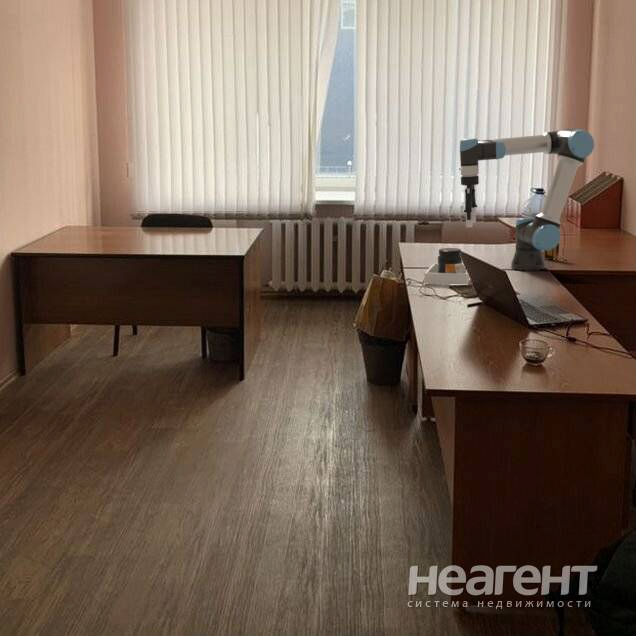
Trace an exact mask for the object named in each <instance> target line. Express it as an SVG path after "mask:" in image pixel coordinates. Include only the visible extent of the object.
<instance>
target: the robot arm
mask: <svg viewBox="0 0 636 636" xmlns="http://www.w3.org/2000/svg"><path fill="white" fill-rule="evenodd" d="M594 140H595V139H594V138H593V136H592V134H591V133H590V132H588V131H587V130H584V129H580V128H577V129H574V128H564V129H563V128H562V129H559V130H554V131H546V132H544V133H542V134H539V135H538V134H536V135H526V136H517V137H516V136H515V137H507V138H506V137H505V138H494V139H483V140H479V139H478V138H475V137H474V138H471V137H470V138H462V139H461V140H460V141H459V161H460V168H458V170H459V171H460V175H461V176H460V185H461V186H466V188H465V189H464V198H465V201H464V204H465V205H464V206H465V207H464V210H463V213H465V227H466V228H473V226H474V225H473V224H475V223H477V216H476V214H477V212H476V211H477V210H476V209H477V208H478V204H477V202H476V201H477V200H476V188H475V187H476V186H477V185H479V184H480V180H479V179H480V178H479V177H480V176H479V171H480V169H479V161H489V160H491V161H492V160H500V159H501V160H502V159H504V157H506V156H513V155H515V156H516V155H527V154H537V153H543V154H545V155H550V154H551V155H556V156H557V158H558V163H557V166H556V167H555V171H554V174H553V177H552V180H551V182H550V185H549V188H548V191H547V193H546V195H545V199H544V202H543V204H542V207H541V210H540V213H537V214H536V215H535V216H534V217H526V218H525V217H524V218H517V219H516V221H515V251H514V254H513V258H512V260H511V264H510V265H511V268H510V269H512V268H513V269H512V270H515V269H517V270H516V271H522V270H525V272H527V271H528V272H532V271H533V272H534V271H535V270H536V271H541V270H540V269H543V268H545V269H546V262H545V261H546V260H545V259H544V258H543V250H544V251H547V250H551V249H553V248H555V247H556V246H557V245H558V243H559V244H560V241H561V238H562V236H561V231H560V229H561V227H562V225H561V223H562V222H561V221H560V219H561V216H562V215H561V214H562V212H563V210H564V207H565V205H566V201H567V199H568V195H569V193H570V190H571V188H572V184H573V182H574V179H575V177H576V173H577V171H578V169H579V167H580V166H583V165H584V163H585V160H586V158H587V157H589V156H590V155H592V152H593V150H594V149H595V141H594ZM560 222H561V223H560ZM543 270H544V269H543Z"/></svg>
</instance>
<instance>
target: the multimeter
mask: <svg viewBox="0 0 636 636" xmlns="http://www.w3.org/2000/svg"><path fill="white" fill-rule="evenodd" d="M560 223H561V227H562V231H563V233H565V231H564V230H565V229H564V226H563V223H562V222H561V221H560ZM563 238H564V240H563V245H565V240H566V238H565V235H563ZM559 251H560V242H559V243H558V245H557V246H556V247H555V248H553V249H551V250H547V251H544V250H542V254H543V258H544V260H548V259H555V261H557V260H556V259H558V260H559V259H560V258H559V257H560V256H559V255H560V254H559V253H560V252H559ZM562 251H563V252H562V255H564V254H565V253H564V251H565V248H563V250H562ZM562 260H563V261H564V260H565V259H564V258H562Z"/></svg>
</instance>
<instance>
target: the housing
mask: <svg viewBox="0 0 636 636" xmlns="http://www.w3.org/2000/svg"><path fill="white" fill-rule="evenodd" d="M423 276H424V277H423V278H424V283H428V284H444V285H443V286H450V285H449V284H468V283H469V284H470V282H469V276H468V273H467V272H466V270H465V267H464V265H463V263H462V274H460V273H438V263H433V264H431V266H429V268H427V270H426V271H425V272H424V275H423ZM469 284H468V285H469Z"/></svg>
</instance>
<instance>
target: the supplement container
mask: <svg viewBox="0 0 636 636" xmlns="http://www.w3.org/2000/svg"><path fill="white" fill-rule="evenodd" d="M459 251H461V252H462V249H461V248H458V247H444V248H440V249H438V255H437V264H438V273H460V274H462V264H463V258H462V259H461V257H460V255H461V254H459Z"/></svg>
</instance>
